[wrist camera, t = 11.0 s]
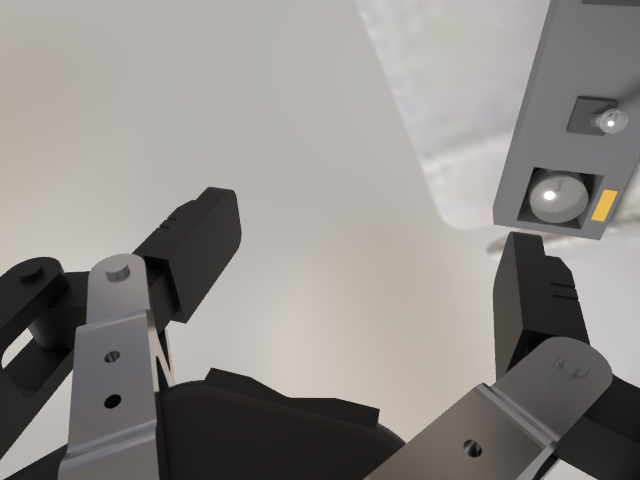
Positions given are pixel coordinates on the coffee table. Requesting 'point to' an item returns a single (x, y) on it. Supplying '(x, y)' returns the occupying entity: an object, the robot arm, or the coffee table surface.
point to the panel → (577, 113)
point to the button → (557, 195)
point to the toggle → (609, 120)
